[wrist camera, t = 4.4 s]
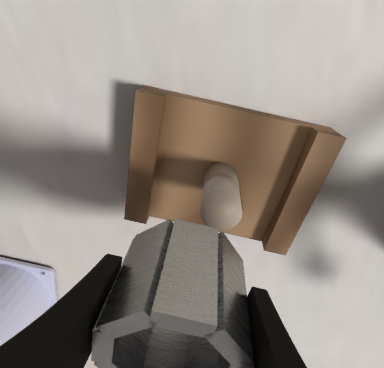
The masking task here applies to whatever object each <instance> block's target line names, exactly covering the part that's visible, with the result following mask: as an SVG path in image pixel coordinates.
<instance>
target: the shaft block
mask: <svg viewBox="0 0 384 368" xmlns="http://www.w3.org/2000/svg"><path fill="white" fill-rule="evenodd" d="M345 140H346V138H345V137H343V136H342V135H340V134H339V133H337V132H336V131H334V130H333V129H332V128H329V127H324V126H320V125H316V124H311V123H307V122H302V121H298V120H294V119H289V118H285V117H281V116H276V115H272V114H267V113H263V112H259V111H254V110H250V109H246V108H241V107H237V106H232V105H228V104H224V103H219V102H215V101H211V100H206V99H202V98H197V97H193V96H189V95H184V94H180V93H176V92H171V91H167V90H162V89H158V88H154V87H149V86H144V87H142V88H140V89H137V90H135V102H134V113H133V125H132V136H131V148H130V159H129V171H128V183H127V194H126V206H125V217H124V219H126V220H130V221H135V222H139V223H144V224H146V223H147V220H148V218H149V216H152V217H156V218H160V219H165V220H169V219H170V220H171V221H174V222H175V219H179V220H183V221H187V222H192V223H196V224H200V225H204V226H208V227H213V228H217V229H218V232H223V233H227V234H232V235H236V236H241V237H245V238H250V239H254V240H259V241H262V243H263V248H264V251H269V252H273V253H278V254H282V255H286V253H287V251H288V249H289V247H290V246H291V244H292V242H293V240H294V238H295V236H296V234H297V232H298V230H299V228H300V226H301V224H302V223H303V221H304V219H305V217H306V215H307V213H308V211H309V209H310V207H311V205H312V203H313V201H314V200H315V198H316V196H317V194H318V192H319V190H320V188H321V186H322V184H323V182H324V180H325V178H326V176H327V175H328V173H329V171H330V169H331V167H332V165H333V163H334V161H335V159H336V157H337V155H338V153H339V152H340V150H341V148H342V146H343V144H344V142H345Z"/></svg>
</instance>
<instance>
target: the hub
mask: <svg viewBox="0 0 384 368" xmlns="http://www.w3.org/2000/svg"><path fill="white" fill-rule="evenodd" d="M91 361H95V363H94V365H95V366H97V367H98V368H254V359H253V349H252V340H251V331H250V322H249V313H248V303H247V294H246V285H245V276H244V266H243V260H242V258H241V257H240V255H239V254H238V253H237V251H236V250H235V248H234V247H233V246H232V244H231V243H230V241H229V240H228V239H227V237H226V236H225V234H224V233H223V232H221V233H218V229H217V228H213V227H208V226H204V225H200V224H196V223H192V222H187V221H183V220H179V219H175V222H174V224H173V222H172V221H171V220H170V219H169V220H167V221H165V222H163V223H161V224H158V225H156V226H154V227H152V228H150V229H148V230H146V231H144V232H142V233H139V234H137V235H136V237H135V238H134V239H133V241H132V243H131V245H130V248H129V250H128V252H127V254H126V256H125V259H124V261H123V263H122V265H121V268H120V271H119V273H118V275H117V277H116V279H115V282H114V284H113V286H112V288H111V290H110V292H109V294H108V297H107V299H106V301H105V303H104V306H103V308H102V310H101V312H100V315H99V317H98V319H97V321H96V324H95V326H94V328H93V330H92V357H91Z"/></svg>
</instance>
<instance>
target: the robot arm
mask: <svg viewBox="0 0 384 368" xmlns="http://www.w3.org/2000/svg"><path fill="white" fill-rule="evenodd" d="M121 263H122V257H120V256H115V255H111V254H107V255H105V256H104V257H103V258H102V259H101V260H100V262H99V263H98V264H97V265H96V266H95V267H94V268H93V269H92V270H91V271H90V272H89V273H88V274H87V275H86V276H85V277H84V278H83V279H82V280H81V281H80V282H78V283H77V284H76V285H75V286H74V287H73V288H72V289H71V290H70V291H69V292H68V293H67V294H65V295H64V296H63V297H62V298H61V299H60V300H59V301H57V294H56V284H55V273H54V270H53V269H51V268H49V267H44V266H40V265H35V264H31V263H26V262H22V261H17V260H13V259H8V258H4V257H0V368H84V366H85V364H86V362H87V360H88V358H89V356H90V354H91V352H92V330H93V328H94V326H95V324H96V321H97V319H98V317H99V315H100V312H101V310H102V308H103V306H104V303H105V301H106V299H107V297H108V294H109V292H110V290H111V288H112V286H113V284H114V282H115V279H116V277H117V275H118V273H119V271H120V268H121ZM247 303H248V313H249V322H250V331H251V340H252V349H253V359H254V368H307V367H306V365H305V363H304V362H303V360H302V358H301V356H300V355H299V353H298V351H297V349H296V347H295V345H294V344H293V342H292V340H291V338H290V336H289V334H288V332H287V331H286V329H285V327H284V325H283V323H282V321H281V319H280V317H279V315H278V313H277V311H276V309H275V307H274V304H273V302H272V300H271V298H270V296H269V294H268V292H267V290H265V289H260V288H256V287H252V288H251V290H250V292H249V294H248V296H247Z"/></svg>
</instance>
